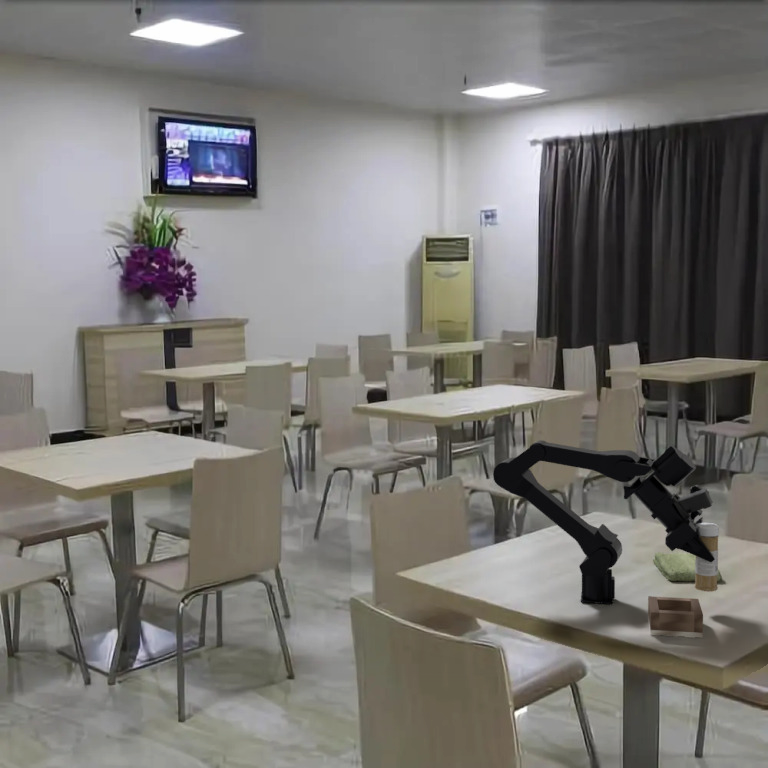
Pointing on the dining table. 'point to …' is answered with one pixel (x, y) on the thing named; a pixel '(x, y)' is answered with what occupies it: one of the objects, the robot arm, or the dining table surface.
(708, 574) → the sprinkles bottle
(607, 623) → the dining table surface
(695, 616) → the socket block
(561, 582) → the dining table surface
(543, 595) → the dining table surface
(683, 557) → the washcloth
